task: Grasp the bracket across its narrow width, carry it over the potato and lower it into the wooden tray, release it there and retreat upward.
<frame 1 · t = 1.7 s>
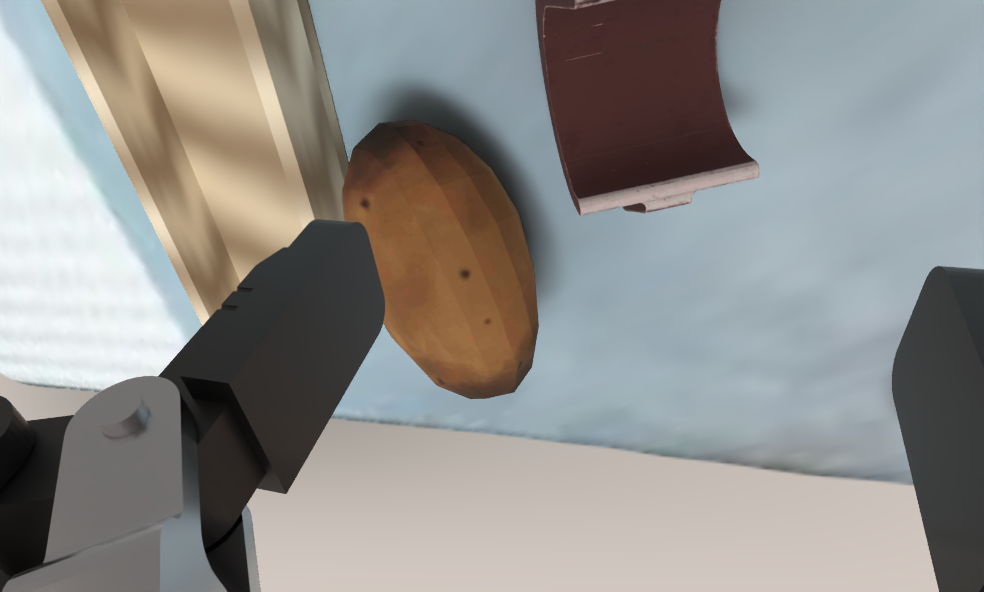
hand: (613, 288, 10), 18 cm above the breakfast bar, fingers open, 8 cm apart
wooden tray: (256, 135, 33), on the breakfast bar
potato: (465, 213, 33), on the breakfast bar
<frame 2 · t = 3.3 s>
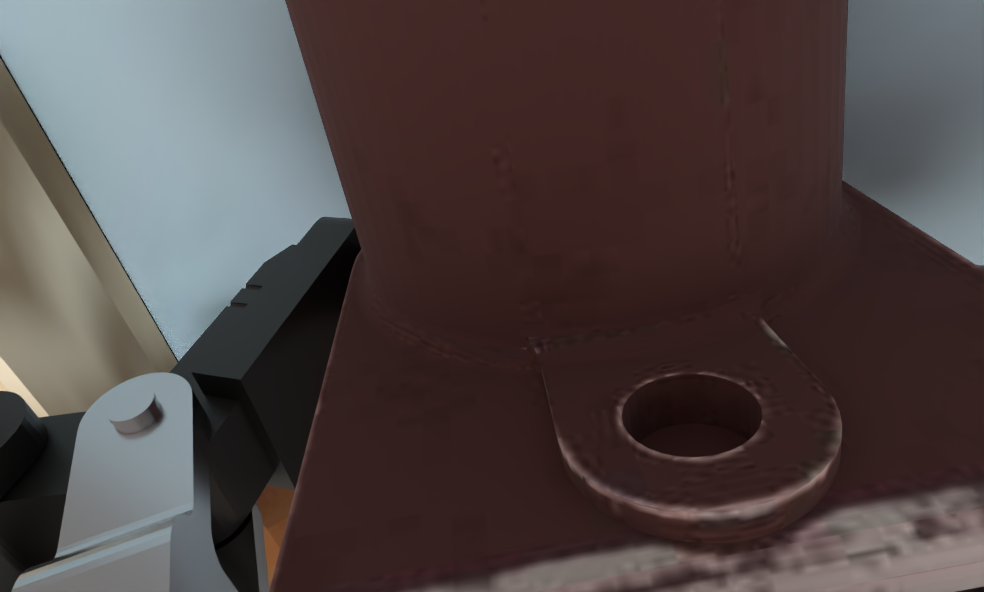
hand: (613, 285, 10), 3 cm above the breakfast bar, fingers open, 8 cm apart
wooden tray: (58, 338, 22), on the breakfast bar
bracket: (646, 124, 12), on the breakfast bar, touching gripper
potato: (366, 454, 22), on the breakfast bar
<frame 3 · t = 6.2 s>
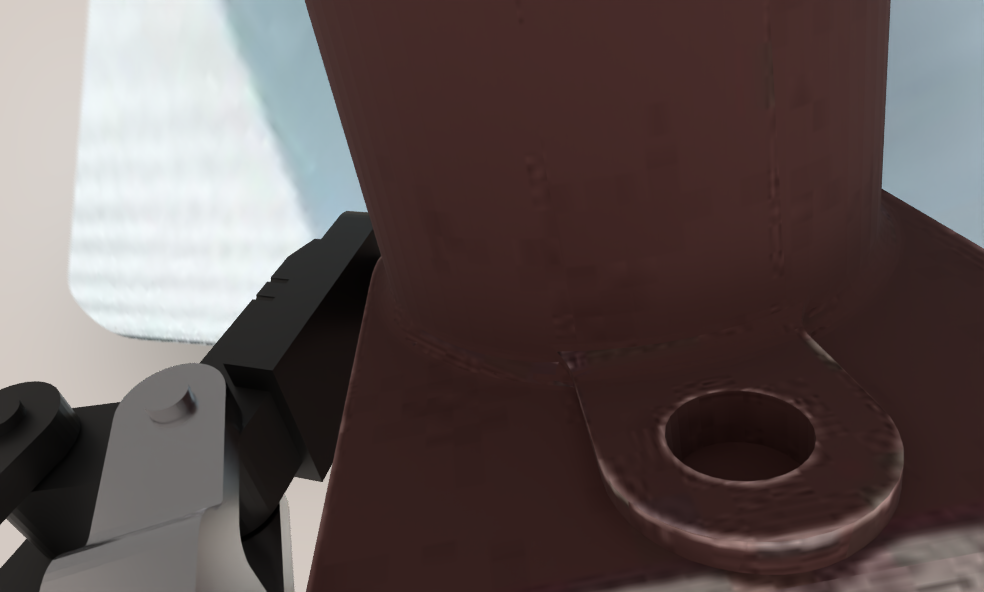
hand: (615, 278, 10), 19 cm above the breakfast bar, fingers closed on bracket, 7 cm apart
bracket: (666, 128, 12), point 16 cm above the breakfast bar, touching gripper
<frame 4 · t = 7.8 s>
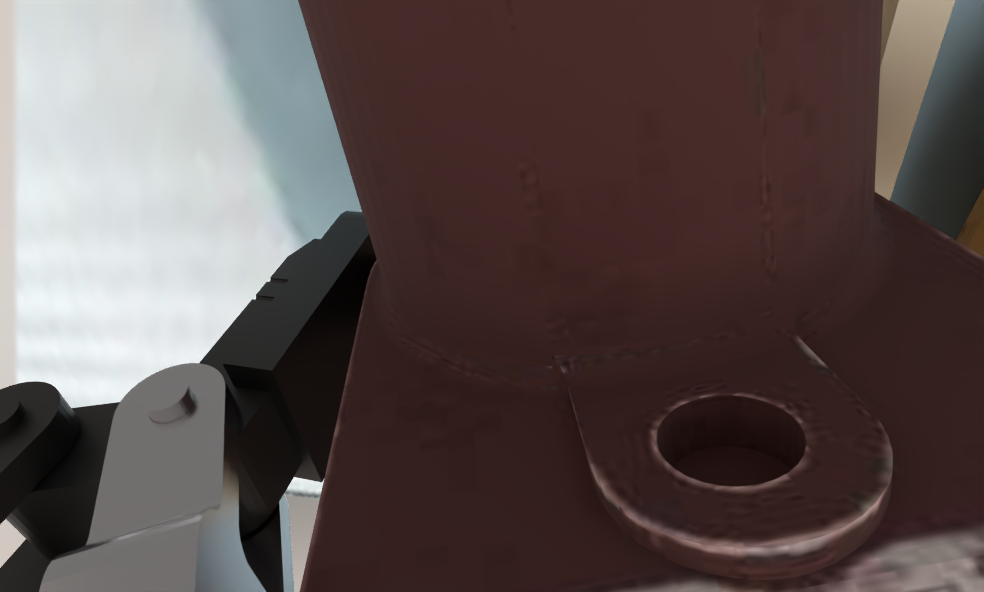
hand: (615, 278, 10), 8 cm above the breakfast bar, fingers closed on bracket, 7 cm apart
wooden tray: (655, 67, 16), on the breakfast bar
bracket: (662, 131, 12), point 5 cm above the breakfast bar, touching gripper
when the fingers open (5 cm above the breakfast bar, at t = 9.1 s): bracket stays where it is, resting on wooden tray.
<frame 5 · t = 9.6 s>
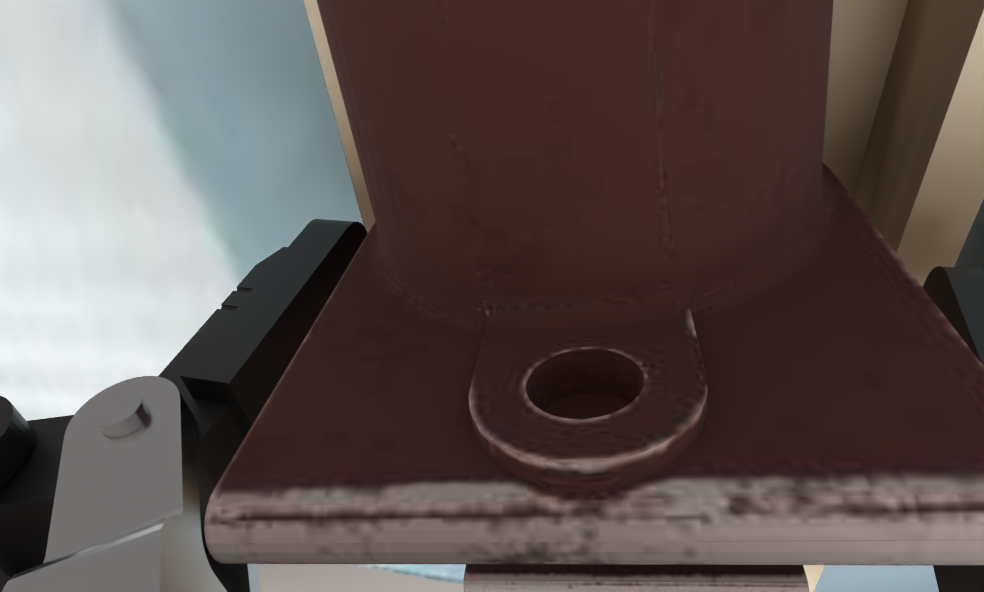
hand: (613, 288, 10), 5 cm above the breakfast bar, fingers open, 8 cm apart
wooden tray: (647, 127, 14), on the breakfast bar
bracket: (693, 105, 12), point 1 cm above the breakfast bar, touching wooden tray
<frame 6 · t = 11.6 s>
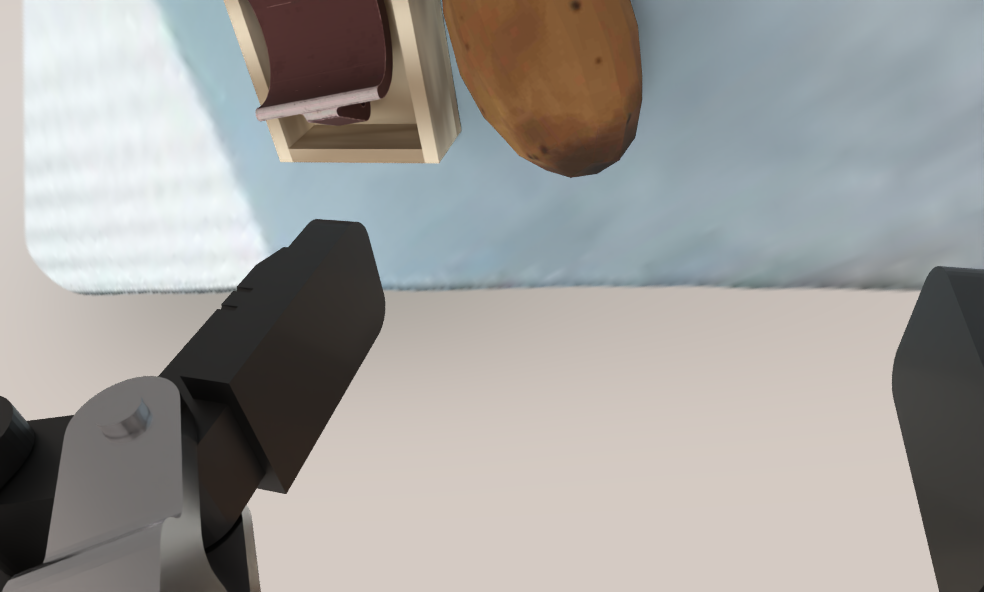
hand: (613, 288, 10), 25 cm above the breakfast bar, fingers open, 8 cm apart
potato: (553, 4, 32), on the breakfast bar
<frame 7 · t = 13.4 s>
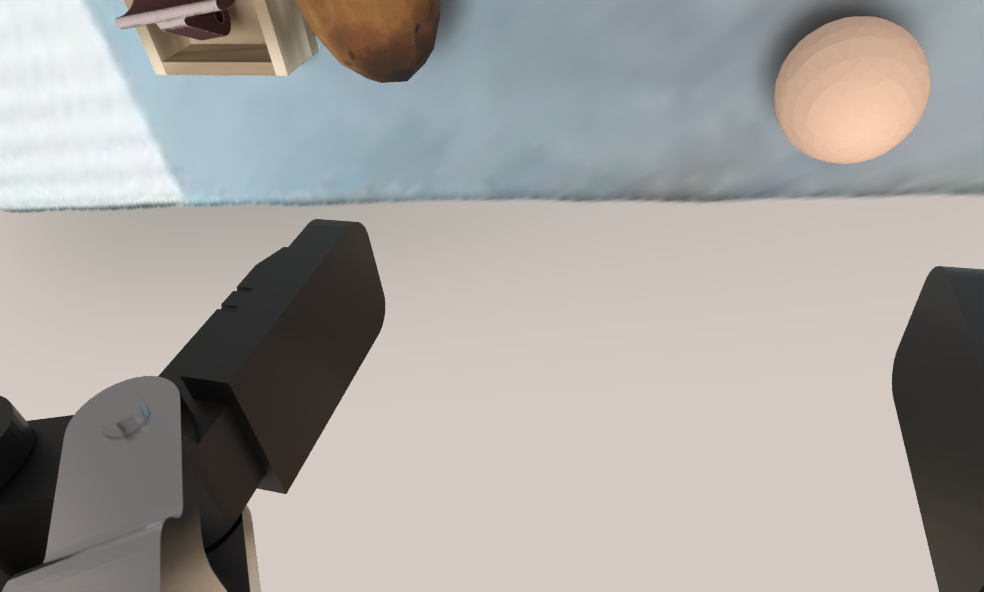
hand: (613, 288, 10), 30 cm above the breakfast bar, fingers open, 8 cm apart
egg: (838, 61, 35), on the breakfast bar
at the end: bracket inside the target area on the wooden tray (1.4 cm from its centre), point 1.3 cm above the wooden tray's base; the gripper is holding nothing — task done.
